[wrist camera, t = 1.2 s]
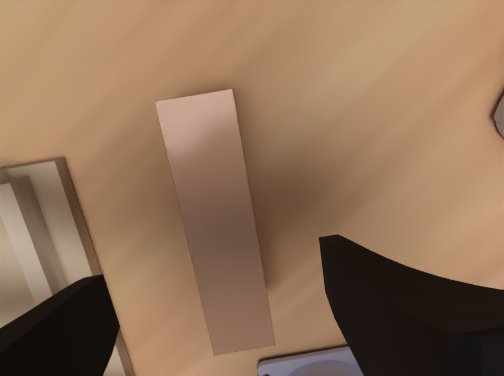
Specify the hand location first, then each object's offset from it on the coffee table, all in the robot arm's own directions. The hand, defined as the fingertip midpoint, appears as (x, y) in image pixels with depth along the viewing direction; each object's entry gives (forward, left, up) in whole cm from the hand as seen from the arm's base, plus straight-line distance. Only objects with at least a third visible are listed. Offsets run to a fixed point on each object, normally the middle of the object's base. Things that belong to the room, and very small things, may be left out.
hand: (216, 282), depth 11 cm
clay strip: (0, 0, -9) cm, 9 cm away
